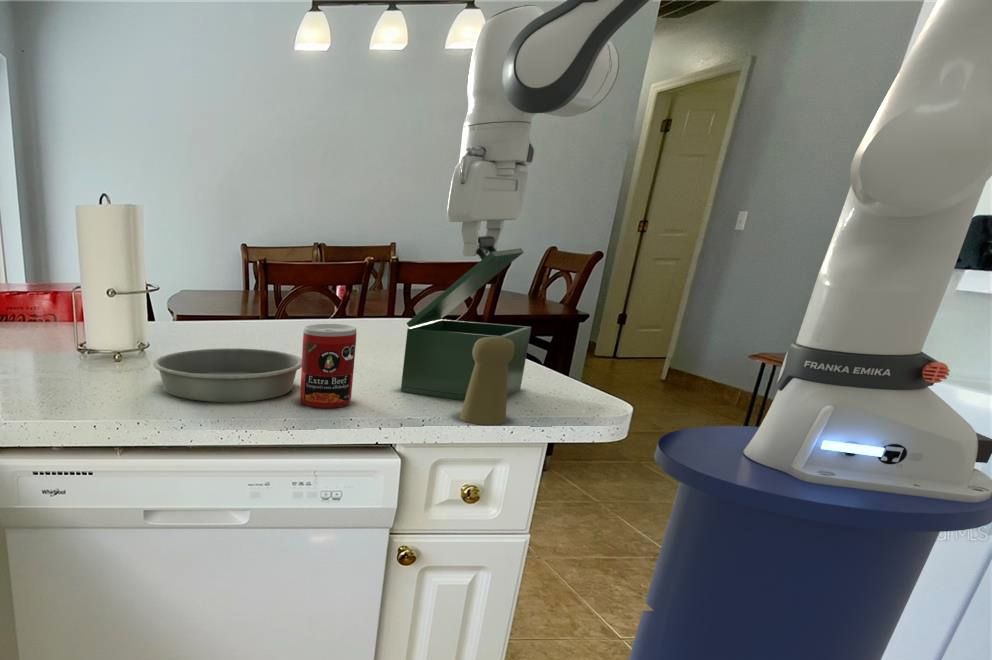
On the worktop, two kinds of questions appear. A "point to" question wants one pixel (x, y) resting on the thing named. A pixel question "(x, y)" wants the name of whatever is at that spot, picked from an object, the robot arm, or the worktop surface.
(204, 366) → the cake pan
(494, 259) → the bin lid
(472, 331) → the waste bin
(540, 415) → the worktop surface
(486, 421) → the tan pawn
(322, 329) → the canned food
